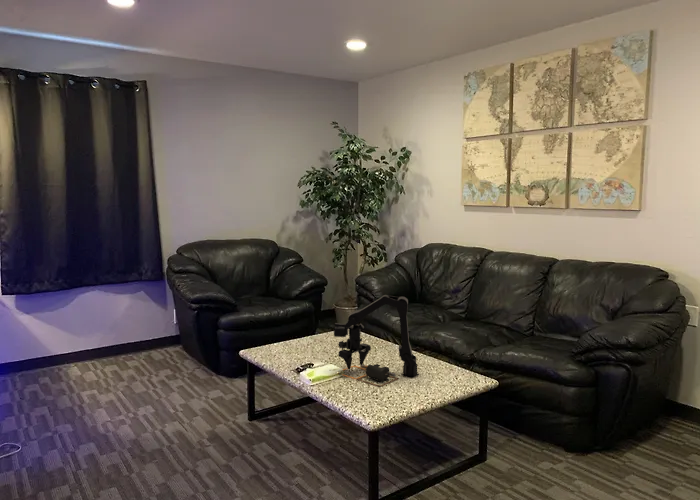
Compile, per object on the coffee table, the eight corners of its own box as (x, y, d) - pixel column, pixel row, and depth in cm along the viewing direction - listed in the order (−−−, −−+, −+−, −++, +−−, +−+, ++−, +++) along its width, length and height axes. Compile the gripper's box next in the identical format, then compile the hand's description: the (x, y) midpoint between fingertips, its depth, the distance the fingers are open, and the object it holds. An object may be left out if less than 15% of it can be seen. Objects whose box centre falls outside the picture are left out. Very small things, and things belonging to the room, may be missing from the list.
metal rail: (395, 376, 261) (395, 373, 260) (393, 376, 259) (393, 374, 259) (362, 366, 275) (362, 364, 275) (360, 367, 274) (360, 364, 274)
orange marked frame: (375, 372, 266) (375, 371, 266) (356, 379, 256) (356, 378, 256) (354, 366, 276) (354, 365, 276) (334, 373, 266) (334, 372, 265)
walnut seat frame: (398, 379, 256) (398, 378, 256) (379, 387, 246) (379, 386, 245) (375, 372, 266) (375, 371, 266) (356, 380, 255) (356, 379, 255)
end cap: (365, 379, 257) (365, 365, 257) (375, 375, 262) (375, 362, 261) (380, 384, 250) (380, 370, 249) (390, 380, 255) (390, 366, 254)
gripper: (355, 330, 276) (355, 359, 278) (330, 338, 263) (330, 368, 264) (371, 334, 269) (371, 363, 270) (346, 342, 255) (347, 373, 257)
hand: (355, 367), depth 266 cm, fingers open, 9 cm apart
